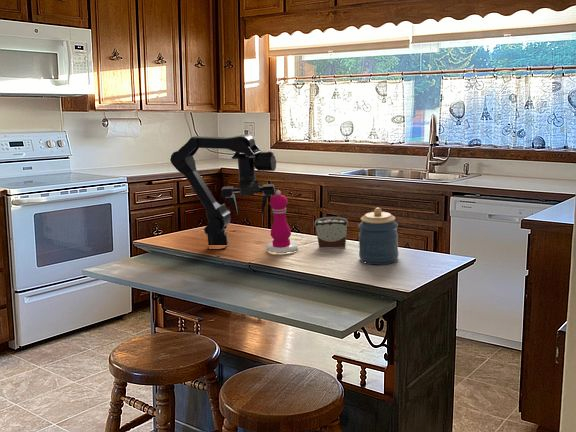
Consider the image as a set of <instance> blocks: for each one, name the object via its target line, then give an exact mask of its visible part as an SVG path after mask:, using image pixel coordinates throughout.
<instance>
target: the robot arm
mask: <svg viewBox="0 0 576 432" xmlns="http://www.w3.org/2000/svg"><path fill="white" fill-rule="evenodd" d="M199 149H217V150H222V149H223V150H229V151H232V152H234V154H233V155H232V156H231V159H232V160H237V167H238V168H237V169H238V178H239V179H238V180H239V183H238V188H236V187H235V188H234V186H233V185H231V186H229V185H228V186H227V185H226V186H223V187H222V188H221V190H220V192H221V193H220V194H221V198H225V200H228V201H229V202H230V204H231V205H232V208H233V210H234V212H235V216H238V214H239V213H238V206H237V201H236V195H237V194H239V196H241V197H245V196H250V197H251V196H254V195H255V194H257V193H262V201H261V202H262V203H261V214H262V215H263V214H264V212H265V208H266V204H267V201H268V198H272V195H276V191H275V190H276V187H275V184H273V183H265V184H263V186H260V181H259V180H256V170H257V172H275V171H276V168H277V159H276V156H275V155H274V151H273V150H271V151H270V150H269V151H262V150H261V149H260V147H259V145H257V144H256V141H255V138H254V136H252V135H251V134H248V133H246V134H243V135H242V134H241V135H235V136H229V137H226V136H201V135H194V136H191V137H190V139H188V140H187V142H186V143H185V144H183V145H182V146H181V147H180V148H179V149H178V150H176V151H174V152H172V154H171V155H170V164H171V165H172V166H173V167H174V168H175V169H176V170H177V171H178V172H179V173H180V174H182V175H183V176H184V177H185V178H186V180H187V182H188V183H189V184H190V186H191V188H192V190H193V191H194V193H195V194H196V196H197V198H198V199H199V201H200V202H201V204H202V205H203V207H204V209H205V212H206V213H205V214H206V218H207V220H208V224H207V225H205V227H204V228H203V231H204V233H205V234H206V235H207V244H208V245H227V244H229V242H228V234H227V233H226V230H225V229H227V227H228V225H229V224H230V222H231V219H232V217H231V216H232V215H230V214H231V211H230V210H229V209H228V208H227V205H226V204H225V203H223V204H220V203H219V202H218V201H217V200H216V198H215V197H214V195H213V194H212V192H211V190H210V189H209V187H208V185H207V184H206V182H205V181H204V179H203V178H202V176H201V175H200V173H199V172H198V170H197V166H196V160H195V158H194V155H196V153H197V152H198V150H199ZM235 194H236V195H235ZM208 245H207V246H208ZM227 246H228V245H227Z"/></svg>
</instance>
